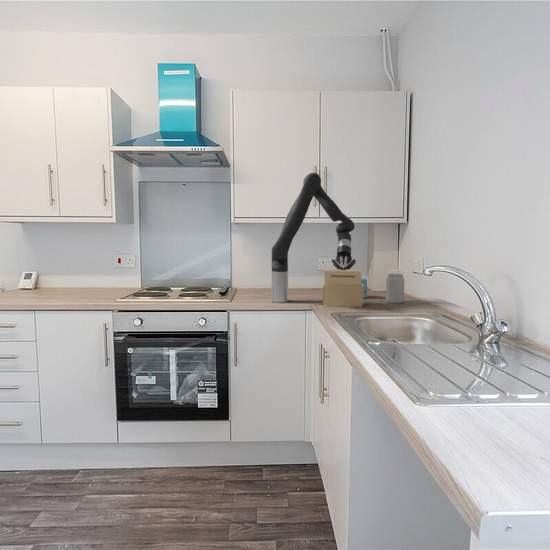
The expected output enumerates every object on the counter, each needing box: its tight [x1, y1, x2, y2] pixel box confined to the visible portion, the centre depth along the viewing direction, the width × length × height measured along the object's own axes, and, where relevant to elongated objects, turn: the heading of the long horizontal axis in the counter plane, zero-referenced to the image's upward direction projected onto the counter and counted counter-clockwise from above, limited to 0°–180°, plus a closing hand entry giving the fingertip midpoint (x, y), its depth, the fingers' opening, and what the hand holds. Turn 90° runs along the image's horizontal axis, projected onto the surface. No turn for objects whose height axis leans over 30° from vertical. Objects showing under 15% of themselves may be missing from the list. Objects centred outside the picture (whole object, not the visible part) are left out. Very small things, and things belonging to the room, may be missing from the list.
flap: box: [323, 269, 362, 285], centre depth 203 cm, size 19×1×10 cm
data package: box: [361, 277, 368, 299], centre depth 238 cm, size 12×4×12 cm, turn 22°
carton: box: [322, 282, 365, 308], centre depth 214 cm, size 21×15×11 cm
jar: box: [385, 269, 406, 304], centre depth 220 cm, size 10×10×18 cm
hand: (343, 274), depth 202 cm, fingers closed
